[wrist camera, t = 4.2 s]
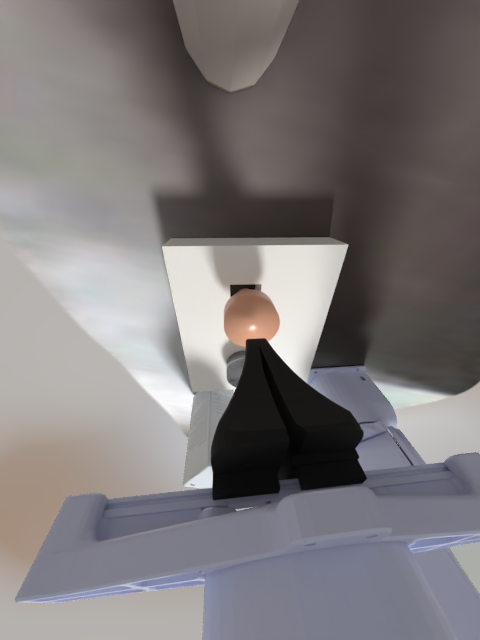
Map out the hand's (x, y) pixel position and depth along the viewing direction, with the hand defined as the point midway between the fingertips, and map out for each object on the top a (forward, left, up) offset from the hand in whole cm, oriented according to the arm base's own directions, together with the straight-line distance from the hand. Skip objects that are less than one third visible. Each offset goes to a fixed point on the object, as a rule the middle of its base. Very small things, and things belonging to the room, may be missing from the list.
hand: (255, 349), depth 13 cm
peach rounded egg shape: (0, 0, -7) cm, 8 cm away
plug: (0, +9, -10) cm, 13 cm away
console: (-1, +4, -11) cm, 11 cm away
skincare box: (+4, +18, -11) cm, 22 cm away
